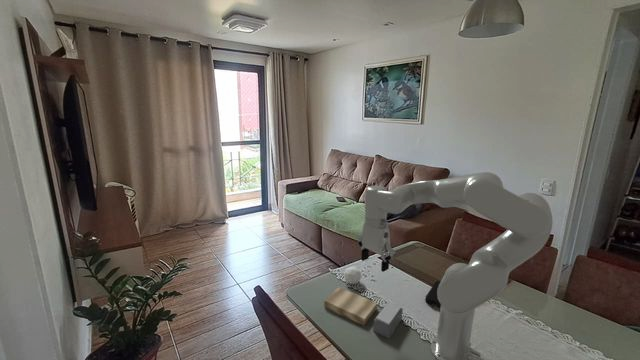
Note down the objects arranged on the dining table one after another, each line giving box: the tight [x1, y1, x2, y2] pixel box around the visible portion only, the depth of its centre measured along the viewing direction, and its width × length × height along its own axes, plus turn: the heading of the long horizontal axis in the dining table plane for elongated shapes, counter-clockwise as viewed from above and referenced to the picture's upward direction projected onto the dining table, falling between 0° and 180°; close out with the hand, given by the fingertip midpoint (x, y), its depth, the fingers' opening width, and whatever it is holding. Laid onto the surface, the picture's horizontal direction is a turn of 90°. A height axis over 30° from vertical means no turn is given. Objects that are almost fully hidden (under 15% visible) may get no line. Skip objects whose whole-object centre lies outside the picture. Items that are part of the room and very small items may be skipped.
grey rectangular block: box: [372, 301, 404, 339], centre depth 107 cm, size 6×12×6 cm, turn 143°
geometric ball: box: [343, 266, 362, 285], centre depth 133 cm, size 8×8×8 cm
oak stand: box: [323, 287, 378, 326], centre depth 116 cm, size 18×11×3 cm, turn 55°
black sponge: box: [424, 280, 441, 309], centre depth 123 cm, size 16×8×4 cm, turn 142°
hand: (374, 264), depth 106 cm, fingers open, 9 cm apart
